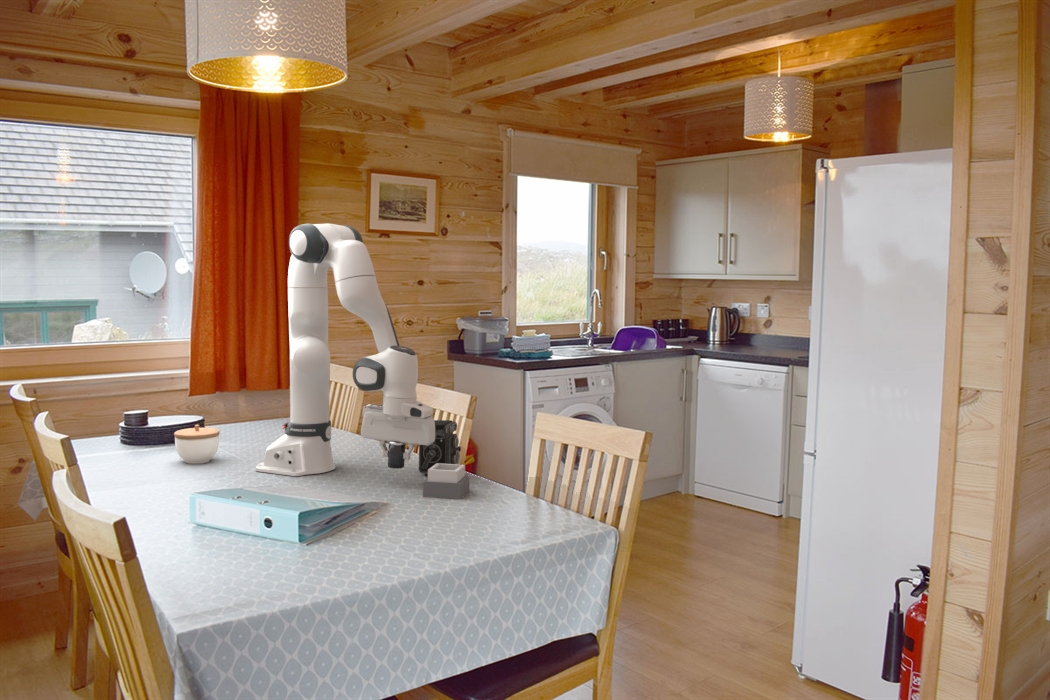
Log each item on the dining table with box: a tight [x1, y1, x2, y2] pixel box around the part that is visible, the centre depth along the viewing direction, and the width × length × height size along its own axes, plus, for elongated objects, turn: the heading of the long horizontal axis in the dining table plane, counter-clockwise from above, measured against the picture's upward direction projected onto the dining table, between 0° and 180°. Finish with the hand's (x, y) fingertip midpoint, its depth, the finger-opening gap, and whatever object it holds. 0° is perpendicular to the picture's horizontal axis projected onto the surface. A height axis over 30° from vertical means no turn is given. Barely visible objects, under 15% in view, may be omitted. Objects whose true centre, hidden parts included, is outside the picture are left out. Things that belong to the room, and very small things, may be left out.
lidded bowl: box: [173, 424, 220, 465], centre depth 241 cm, size 13×13×11 cm
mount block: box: [422, 463, 470, 500], centre depth 209 cm, size 10×9×7 cm
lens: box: [387, 441, 407, 469], centre depth 215 cm, size 5×5×7 cm
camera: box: [418, 419, 462, 476], centre depth 231 cm, size 10×10×15 cm
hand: (396, 457), depth 215 cm, fingers closed on lens, 4 cm apart
